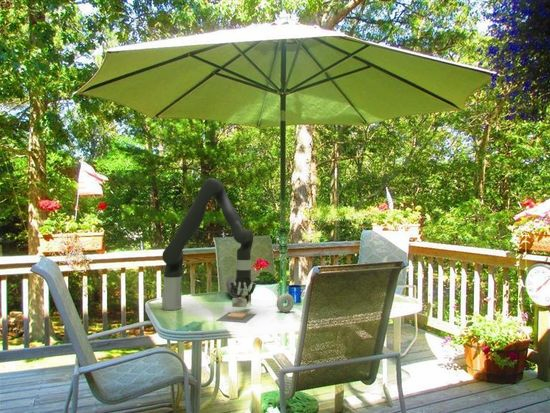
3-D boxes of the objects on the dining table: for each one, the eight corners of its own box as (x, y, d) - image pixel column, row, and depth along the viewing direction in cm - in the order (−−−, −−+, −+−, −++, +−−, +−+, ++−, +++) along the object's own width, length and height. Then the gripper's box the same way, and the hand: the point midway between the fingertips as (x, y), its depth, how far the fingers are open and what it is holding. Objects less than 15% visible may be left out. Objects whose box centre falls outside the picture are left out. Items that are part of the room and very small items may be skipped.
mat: (215, 321, 222) (215, 320, 222) (228, 313, 240) (228, 312, 240) (245, 324, 219) (245, 322, 219) (256, 315, 236) (256, 314, 236)
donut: (291, 310, 247) (291, 292, 247) (295, 312, 244) (295, 293, 244) (275, 312, 242) (275, 293, 242) (278, 314, 239) (278, 294, 239)
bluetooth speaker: (225, 292, 295) (225, 277, 295) (240, 292, 297) (240, 276, 297) (228, 300, 273) (228, 283, 273) (244, 299, 274) (244, 282, 274)
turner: (232, 306, 233) (232, 298, 233) (241, 301, 248) (242, 293, 248) (245, 307, 231) (245, 299, 231) (254, 302, 246) (254, 294, 246)
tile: (232, 314, 235) (226, 318, 226) (232, 311, 235) (226, 315, 226) (247, 315, 233) (242, 319, 224) (247, 312, 233) (242, 316, 224)
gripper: (228, 268, 237) (227, 302, 237) (254, 270, 233) (254, 304, 234) (233, 266, 244) (232, 299, 244) (258, 268, 241) (258, 301, 241)
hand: (243, 302), depth 239 cm, fingers closed on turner, 3 cm apart
